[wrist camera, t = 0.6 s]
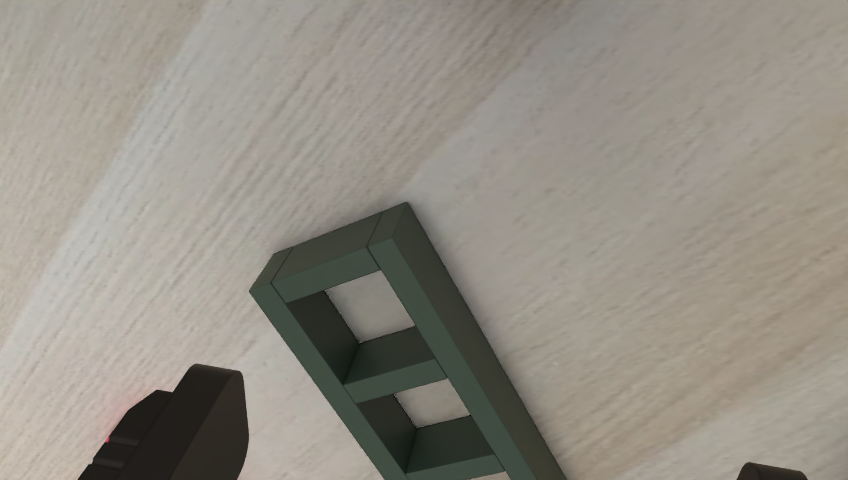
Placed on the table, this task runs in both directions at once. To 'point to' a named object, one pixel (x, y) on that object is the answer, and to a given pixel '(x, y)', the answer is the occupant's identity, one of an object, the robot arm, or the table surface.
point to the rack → (401, 355)
